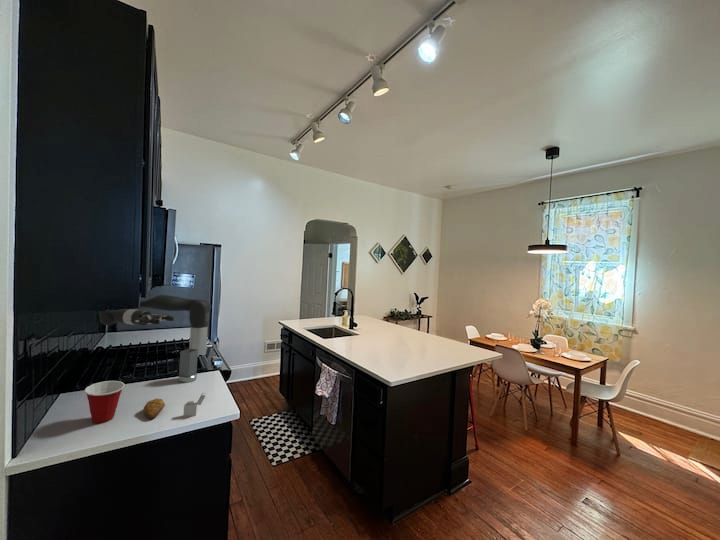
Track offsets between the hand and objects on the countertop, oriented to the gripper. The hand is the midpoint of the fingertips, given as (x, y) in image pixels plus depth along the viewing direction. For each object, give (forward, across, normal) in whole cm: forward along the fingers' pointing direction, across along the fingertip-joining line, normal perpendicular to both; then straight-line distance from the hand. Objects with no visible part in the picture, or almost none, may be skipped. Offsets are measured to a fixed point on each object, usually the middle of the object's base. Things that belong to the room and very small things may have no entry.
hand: (166, 320), depth 142 cm
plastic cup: (+10, +37, -28) cm, 48 cm away
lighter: (+38, +26, -28) cm, 54 cm away
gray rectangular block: (+13, -1, -26) cm, 29 cm away
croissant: (+22, +28, -28) cm, 46 cm away
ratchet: (+8, -5, -28) cm, 30 cm away
